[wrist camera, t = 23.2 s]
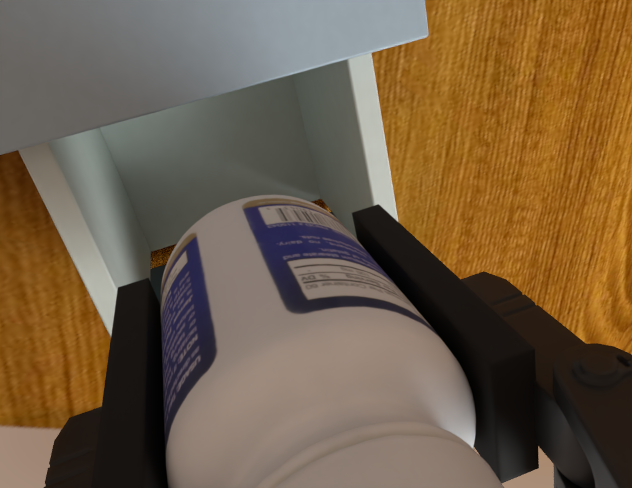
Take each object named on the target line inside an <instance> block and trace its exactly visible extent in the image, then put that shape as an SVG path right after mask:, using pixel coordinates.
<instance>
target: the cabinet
mask: <svg viewBox="0 0 632 488" xmlns="http://www.w3.org/2000/svg"><path fill="white" fill-rule="evenodd" d="M427 36H428V25H427V16H426V7H425V0H0V155H2V154H6V153H10V152H13V151H17V150H21V149H24V148H28V147H31V146H35V145H39V144H42V143H46V142H50V141H53V140H57V139H60V138H64V137H68V136H71V135H75V134H79V133H82V132H86V131H89V130H93V129H97V128H100V127H104V126H108V125H111V124H115V123H118V122H122V121H126V120H129V119H133V118H137V117H140V116H144V115H147V114H151V113H155V112H158V111H162V110H166V109H169V108H173V107H176V106H180V105H184V104H187V103H191V102H194V101H198V100H202V99H205V98H209V97H213V96H216V95H220V94H223V93H227V92H231V91H234V90H238V89H242V88H245V87H249V86H252V85H256V84H260V83H263V82H267V81H271V80H274V79H278V78H281V77H285V76H289V75H292V74H296V73H300V72H303V71H307V70H310V69H314V68H318V67H321V66H325V65H329V64H332V63H336V62H339V61H343V60H347V59H350V58H354V57H358V56H361V55H365V54H368V53H372V52H376V51H379V50H383V49H387V48H390V47H394V46H397V45H401V44H405V43H408V42H412V41H416V40H419V39H423V38H426V37H427Z"/></svg>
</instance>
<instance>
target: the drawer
mask: <svg viewBox="0 0 632 488" xmlns="http://www.w3.org/2000/svg"><path fill="white" fill-rule="evenodd" d="M18 151H19V153H20V155H21V157H22V159H23V161H24V163H25V166H26V168H27V170H28V172H29V174H30V176H31V178H32V180H33V182H34V184H35V186H36V188H37V190H38V192H39V194H40V196H41V198H42V200H43V202H44V204H45V206H46V208H47V210H48V212H49V214H50V216H51V218H52V220H53V222H54V224H55V226H56V228H57V230H58V232H59V234H60V236H61V238H62V240H63V242H64V244H65V246H66V248H67V250H68V252H69V254H70V256H71V258H72V260H73V262H74V264H75V266H76V268H77V270H78V272H79V274H80V276H81V278H82V281H83V283H84V285H85V287H86V289H87V291H88V293H89V295H90V297H91V299H92V301H93V303H94V305H95V307H96V309H97V311H98V313H99V315H100V317H101V319H102V321H103V323H104V325H105V327H106V329H107V331H108V333H109V335H110V337H111V335H112V327H113V320H114V312H115V305H116V297H117V290H118V287H121V286H124V285H127V284H130V283H133V282H136V281H140V280H143V279H146V278H149V280H150V282H151V285H152V287H153V289H154V292H155V294H156V296H157V299H158V301H159V303H160V300H161V283H162V278H163V274H164V270H165V267H166V264H165V265H162V266H159V267H156V268H153V269H151V252H152V251H155V250H158V249H162V248H165V247H168V246H171V245H174V244H177V243H178V242H179V240H180V239H181V238H182V236H183V235H184V234H185V233H186V232H187V231H188V230H189V229H190V228H191V227H192V226H193V225H194V224H195V223H196V222H197V221H199V220H200V219H201V218H202V217H204V216H205V215H206V214H208V213H210V212H211V211H213V210H215V209H216V208H219V207H221V206H223V205H225V204H228V203H230V202H233V201H236V200H240V199H243V198H248V197H252V196H258V195H285V196H291V197H296V198H300V199H303V200H306V201H309V202H312V201H315V200H318V199H322V200H323V201H324V203H325V204H326V205H327V206H328V207H329V209H330V210H331V211H332V212H329V213H330V214H332V215H333V216H334V217H336V218H337V219H338V220H339V221H340V222H341V223H342V224H343V225H344V226H345V227H346V228H347V229H348V230H349V231H350V233H351V234H352V235H353V236H354V237H355V238H356V239H357V236H356V231H355V226H354V222H353V217H352V213H353V212H356V211H359V210H362V209H365V208H368V207H371V206H375V205H378V204H379V205H380V206H381V207H382V208H383V209H385V210H386V211H387V212H388V213H389V214H390V215H391V216H392V217H393V218H394V219H395V220H396V221H398V216H397V210H396V204H395V197H394V191H393V185H392V179H391V173H390V166H389V160H388V154H387V148H386V141H385V135H384V129H383V123H382V116H381V110H380V104H379V98H378V91H377V85H376V79H375V73H374V67H373V60H372V54H371V53H368V54H365V55H361V56H358V57H354V58H350V59H347V60H343V61H339V62H336V63H332V64H329V65H325V66H321V67H318V68H314V69H310V70H307V71H303V72H300V73H296V74H292V75H289V76H285V77H281V78H278V79H274V80H271V81H267V82H263V83H260V84H256V85H252V86H249V87H245V88H242V89H238V90H234V91H231V92H227V93H223V94H220V95H216V96H213V97H209V98H205V99H202V100H198V101H194V102H191V103H187V104H184V105H180V106H176V107H173V108H169V109H166V110H162V111H158V112H155V113H151V114H147V115H144V116H140V117H137V118H133V119H129V120H126V121H122V122H118V123H115V124H111V125H108V126H104V127H100V128H97V129H93V130H89V131H86V132H82V133H79V134H75V135H71V136H68V137H64V138H60V139H57V140H53V141H50V142H46V143H42V144H39V145H35V146H31V147H28V148H24V149H21V150H18Z"/></svg>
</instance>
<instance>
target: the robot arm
mask: <svg viewBox="0 0 632 488" xmlns="http://www.w3.org/2000/svg"><path fill="white" fill-rule="evenodd" d="M352 217H353V222H354V226H355V231H356V236H357V240H358V242H359V243H360V244H361V245H362V246H363V248H364V249H365V250H366V251H367V252H368V253H369V254H370V255H371V257H372V258H373V259H374V260H375V262H376V263H377V264H378V265H379V266H380V267H381V268H382V270H383V271H384V272H385V273H386V274H387V275H388V276H389V278H390V279H391V280H392V281H393V282H394V283H395V284H396V286H397V287H398V288H399V290H400V291H401V292H402V293H403V294H404V295H405V296H406V298H407V299H408V300H409V301H410V302H411V303H412V304H413V306H414V307H415V308H416V309H417V311H418V312H419V313H420V314H421V315H422V316H423V317H424V319H425V320H426V321H427V322H428V323H429V324H430V326H431V327H432V328H433V329H434V330H435V331H436V333H437V334H438V335H439V337H440V338H441V339H442V340H443V342H444V343H445V344H446V346H447V347H448V348H449V350H450V351H451V353H452V354H453V355H454V357H455V358H456V359H457V361H458V362H459V364H460V366H461V367H462V369H463V371H464V373H465V375H466V377H467V379H468V382H469V385H470V388H471V390H472V394H473V398H474V403H475V412H476V435H475V441H474V447H475V449H476V450H477V452H478V453H479V454H480V456H481V457H482V458H483V459H484V460H485V461H486V462H487V463H488V464H489V466H490V467H491V469H492V470H493V471H494V473H495V474H496V476H497V477H498V479H499V481H500V482H501V483H504V482H506V481H508V480H511V479H513V478H516V477H518V476H521V475H523V474H525V473H528V472H530V471H533V470H535V469H538V468H539V464H538V446H539V447H540V448H541V449H542V450H543V452H544V453H545V454H546V455H547V456H548V458H549V459H550V460H551V461H552V462H553V463H554V488H632V355H631V354H629V353H627V352H625V351H623V350H620V349H618V348H616V347H613V346H607V345H602V344H585V343H584V342H583V341H582V340H580V339H579V338H578V337H577V336H576V335H574V334H573V333H572V332H571V331H569V330H568V329H567V328H566V327H564V326H563V325H562V324H561V323H559V322H558V321H557V320H556V319H554V318H553V317H552V316H551V315H549V314H548V313H547V312H546V311H544V310H543V309H542V308H541V307H539V306H538V305H537V306H536V305H535V303H534V302H533V301H532V300H531V299H530V298H528V297H527V296H526V295H522V292H521V291H520V290H518V289H517V288H516V287H515V286H513V285H512V284H511V283H510V282H508V281H507V280H506V279H503V278H500V277H498V276H495V275H492V274H489V273H487V272H481V273H478V274H475V275H472V276H469V277H467V278H464V279H461V280H460V279H459V278H458V277H457V276H456V275H455V274H454V273H453V272H452V271H450V270H449V269H448V268H447V267H446V266H445V265H444V264H443V263H442V262H441V261H440V260H439V259H438V258H436V257H435V256H434V255H433V254H432V253H431V252H430V251H429V250H428V249H427V248H426V247H425V246H423V245H422V244H421V243H420V242H419V241H418V240H417V239H416V238H415V237H414V236H413V235H412V234H411V233H409V232H408V231H407V230H406V229H405V228H404V227H403V226H402V225H401V224H400V223H399V222H398V221H396V220H395V219H394V218H393V217H392V216H391V215H390V214H389V213H388V212H387V211H386V210H385V209H383V208H382V207H381V206H380V205H379V204H378V205H375V206H371V207H368V208H365V209H362V210H359V211H356V212H353V213H352ZM49 464H50V468H48V471H47V475H46V480H45V484H46V487H44V488H168V481H167V471H166V458H165V433H164V406H163V373H162V340H161V315H160V303H159V301H158V299H157V296H156V294H155V292H154V289H153V287H152V285H151V282H150V280H149V278H146V279H143V280H140V281H136V282H133V283H130V284H127V285H124V286H121V287H118V290H117V297H116V305H115V312H114V320H113V327H112V335H111V342H110V350H109V357H108V365H107V372H106V380H105V388H104V395H103V403H102V407H99V408H96V409H93V410H91V411H88V412H85V413H82V414H79V415H76V416H73V417H71V418H69V420H68V421H67V423H66V424H65V426H64V427H63V429H62V430H61V432H60V433H59V435H58V436H57V438H56V439H55V441H54V445H53V449H52V454H51V458H50V462H49Z"/></svg>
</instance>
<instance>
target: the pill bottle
mask: <svg viewBox="0 0 632 488" xmlns="http://www.w3.org/2000/svg"><path fill="white" fill-rule="evenodd" d="M160 315H161V340H162V373H163V406H164V433H165V458H166V471H167V481H168V488H504V487H503V486H502V484H501V482H500V481H499V479H498V477H497V476H496V474H495V473H494V471H493V470H492V469H491V467H490V466H489V464H488V463H487V462H486V461H485V460H484V459H483V458H482V457H481V456H479V455H478V454H477V453H476V452H475V451H474V450H473V447H474V441H475V435H476V412H475V403H474V398H473V394H472V390H471V388H470V385H469V382H468V379H467V377H466V375H465V373H464V371H463V369H462V367H461V366H460V364H459V362H458V361H457V359H456V358H455V357H454V355H453V354H452V353H451V351H450V350H449V348H448V347H447V346H446V344H445V343H444V342H443V340H442V339H441V338H440V337H439V335H438V334H437V333H436V331H435V330H434V329H433V328H432V327H431V326H430V324H429V323H428V322H427V321H426V320H425V319H424V317H423V316H422V315H421V314H420V313H419V312H418V311H417V309H416V308H415V307H414V306H413V304H412V303H411V302H410V301H409V300H408V299H407V298H406V296H405V295H404V294H403V293H402V292H401V291H400V290H399V288H398V287H397V286H396V284H395V283H394V282H393V281H392V280H391V279H390V278H389V276H388V275H387V274H386V273H385V272H384V271H383V270H382V268H381V267H380V266H379V265H378V264H377V263H376V262H375V260H374V259H373V258H372V257H371V255H370V254H369V253H368V252H367V251H366V250H365V249H364V248H363V246H362V245H361V244H360V243H359V242H358V240H357V239H356V238H355V237H354V236H353V235H352V234H351V233H350V231H349V230H348V229H347V228H346V227H345V226H344V225H343V224H342V223H341V222H340V221H339V220H338V219H337V218H336V217H334V216H333V215H332V214H330V213H329V212H328V211H326V210H325V209H323V208H321V207H319V206H318V205H316V204H314V203H311V202H309V201H306V200H303V199H300V198H296V197H291V196H285V195H258V196H252V197H248V198H243V199H240V200H236V201H233V202H230V203H228V204H225V205H223V206H221V207H219V208H216V209H215V210H213V211H211V212H210V213H208V214H206V215H205V216H204V217H202V218H201V219H200V220H199V221H197V222H196V223H195V224H194V225H193V226H192V227H191V228H190V229H189V230H188V231H187V232H186V233H185V234H184V235H183V236H182V238H181V239H180V240H179V242H178V243H177V245H176V246H175V248H174V250H173V251H172V253H171V255H170V257H169V259H168V262H167V264H166V267H165V270H164V274H163V278H162V283H161V300H160Z"/></svg>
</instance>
